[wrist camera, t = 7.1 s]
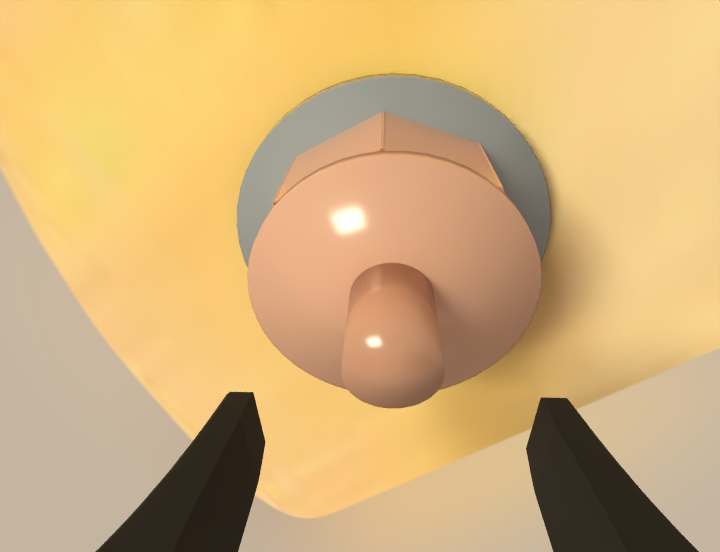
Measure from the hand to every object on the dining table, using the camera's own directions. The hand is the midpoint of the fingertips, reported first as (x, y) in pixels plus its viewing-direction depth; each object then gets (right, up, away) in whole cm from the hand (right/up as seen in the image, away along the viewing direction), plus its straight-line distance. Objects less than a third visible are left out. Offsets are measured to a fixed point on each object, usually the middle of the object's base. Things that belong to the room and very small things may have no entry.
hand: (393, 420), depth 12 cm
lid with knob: (0, +6, +7) cm, 9 cm away
